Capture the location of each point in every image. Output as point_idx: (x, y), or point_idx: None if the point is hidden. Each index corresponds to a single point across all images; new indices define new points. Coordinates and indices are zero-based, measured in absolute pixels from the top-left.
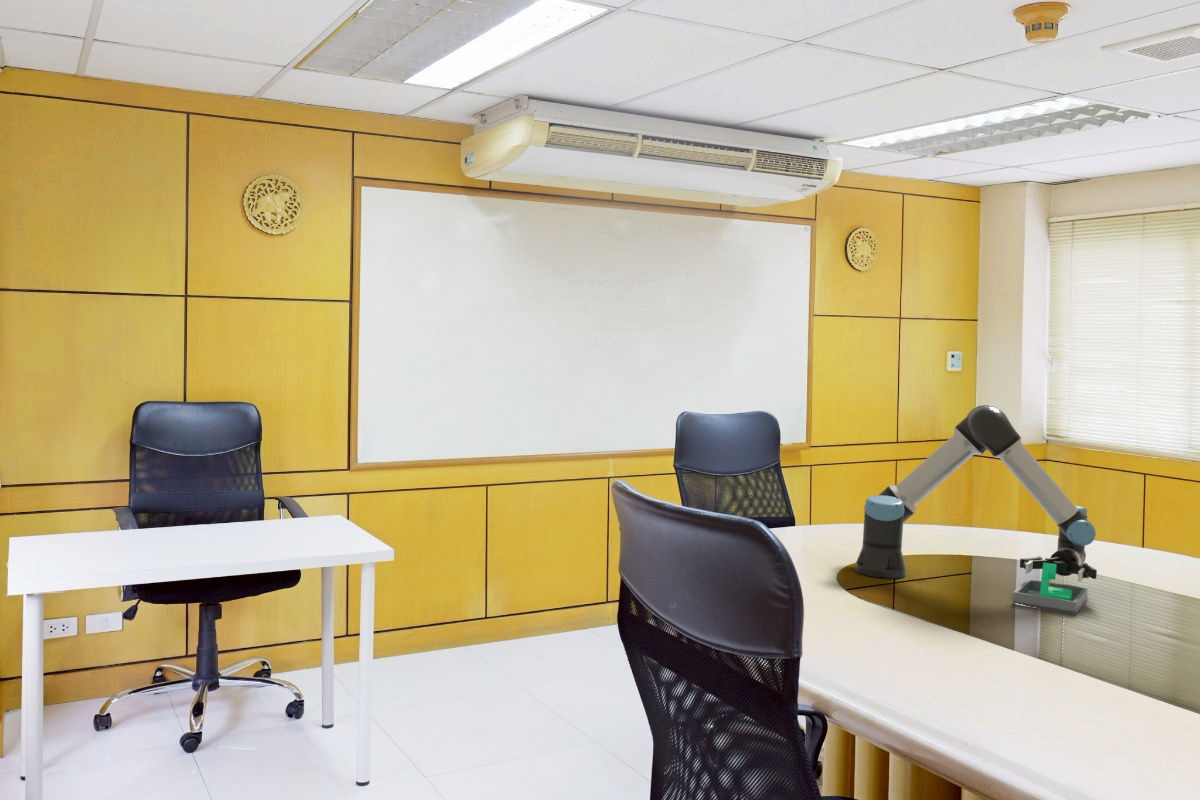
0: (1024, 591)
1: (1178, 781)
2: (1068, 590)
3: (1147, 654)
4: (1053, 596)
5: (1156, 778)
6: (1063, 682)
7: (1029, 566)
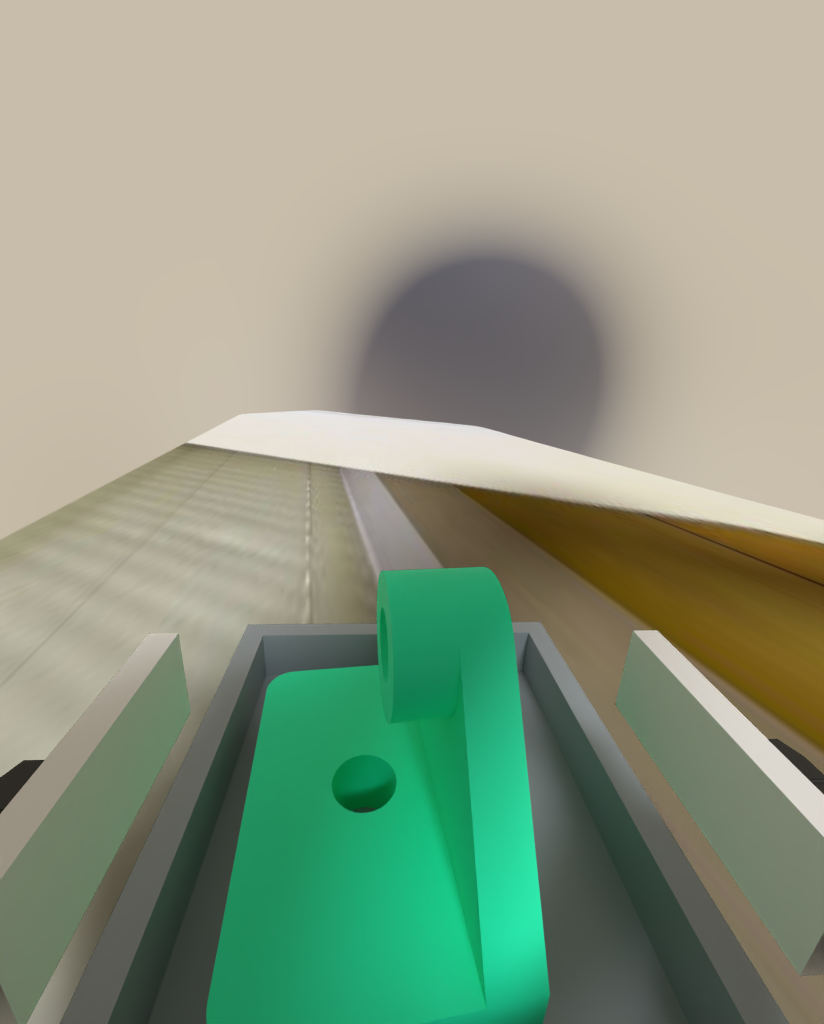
0: (629, 871)
1: (244, 415)
2: (258, 945)
3: (143, 508)
4: (363, 669)
5: (256, 415)
6: (305, 447)
7: (660, 695)
